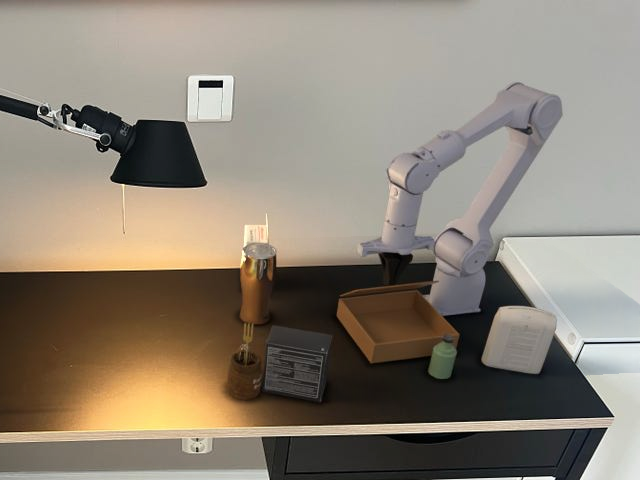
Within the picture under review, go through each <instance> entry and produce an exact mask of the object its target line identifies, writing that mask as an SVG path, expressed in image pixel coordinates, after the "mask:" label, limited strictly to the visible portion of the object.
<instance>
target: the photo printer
mask: <svg viewBox="0 0 640 480" xmlns="http://www.w3.org/2000/svg"><path fill="white" fill-rule="evenodd" d="M557 321H558V319H557V315H556V314H554V313H552V312H550V311H547V310H544V309H542V308H537V307H533V306H525V305H505V306H500V307H498V310H497V312H496V313H495V315H494V317H493V320H492V323H491V327H490V329H489V333H488V336H487V340H486V343H485V346H484V349H483V352H482V355H481V363H482V364H483V365H485V366H486V367H490V368H495V369H500V370H507V371H513V372H519V373H525V374H532V375H533V374H534V375H538V374H540V373H541V371H542V368H543V366H544V363H545V360H546V357H547V355H548V353H549V349H550V346H551V344H552V341H553V338H554V336H555V333H556V330H557V325H558V324H557Z"/></svg>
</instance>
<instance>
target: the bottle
mask: <svg viewBox="0 0 640 480" xmlns="http://www.w3.org/2000/svg"><path fill="white" fill-rule="evenodd" d="M453 342H454V336H452V335H450V334H444V335H443V336H442V343H439V344H438V345H436V346H434V348H433V352H432V356H431V357H430V361H429V363H428V364H429V365H428V369H427V372H428V374H429V375H430V376H431V377H434V379H439V380H445V379H449V378H451V376H452V373H453V369H454V366H455V361H456V358H457V354H458V350H457V348H456V349H455V348H454V346H453V345H452V343H453Z"/></svg>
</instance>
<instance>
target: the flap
mask: <svg viewBox="0 0 640 480" xmlns="http://www.w3.org/2000/svg"><path fill="white" fill-rule="evenodd" d="M437 282H439V281H433V280H430V281H421V282H414V283H413V282H412V283H405V284H395V285H394V286H386V285H385V286H377V287H368V288H358V289H354V290H352V291H348V292H346V293H343V294H341V295H339V297H340V298H345V297H354V296H363V295H372V294H381V293H390V292H399V291H408V290H416V289H420V288H423V287H426V286H430V285H432V284H434V283H437Z"/></svg>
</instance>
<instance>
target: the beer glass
mask: <svg viewBox="0 0 640 480" xmlns="http://www.w3.org/2000/svg"><path fill="white" fill-rule="evenodd" d="M277 252H278V250H277V248H275V246H273V245H271V244H269V245H268V244H264V243H252V244H248V245H246V246H245V247H244V246H243V248H242V253H241V259H240V266H239V267H240V268H239V278H240V288H241V295H242V303H241V308H240V313H239V318H240V320H241V321H242V322H244V324H245V323H246V324H247V325H248V324H250V325H252V324H253V326H255V325H256V326H258V325H263V324H266V323H267V322H269V320H270V318H271V313H270V299H271V295H272V292H273V289H274V284H275V280H276V274H277V262H278V261H277V258H278V257H277V254H278V253H277Z"/></svg>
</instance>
